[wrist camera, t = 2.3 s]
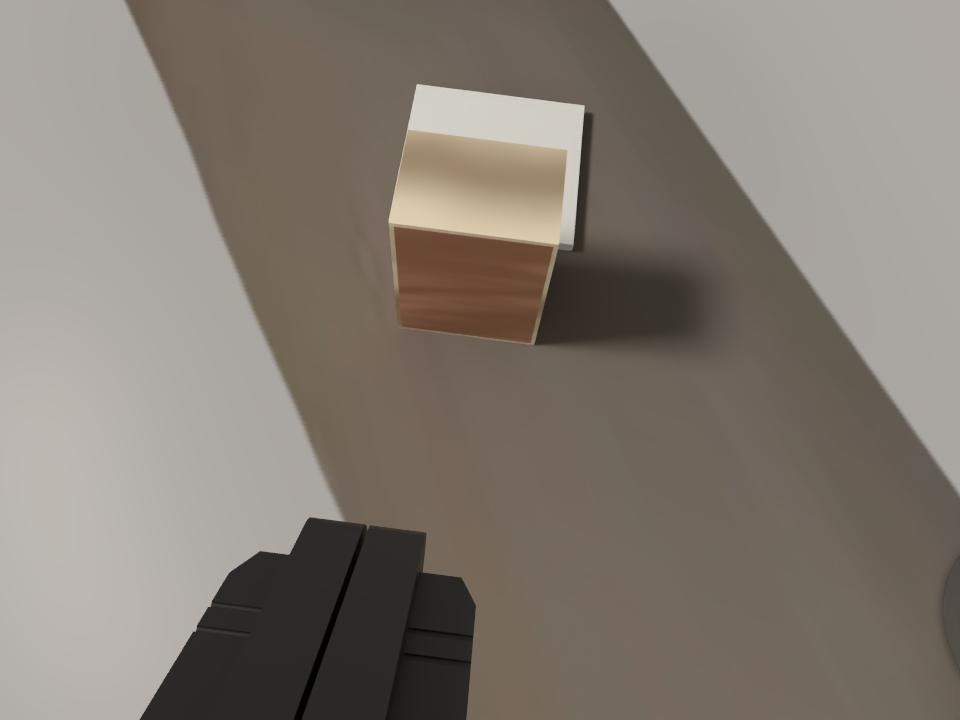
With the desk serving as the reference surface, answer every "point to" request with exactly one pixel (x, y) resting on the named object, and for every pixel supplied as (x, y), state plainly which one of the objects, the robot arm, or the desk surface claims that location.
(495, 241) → the maple block
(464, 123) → the mat
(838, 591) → the desk surface
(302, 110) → the desk surface
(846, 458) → the desk surface
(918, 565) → the desk surface
